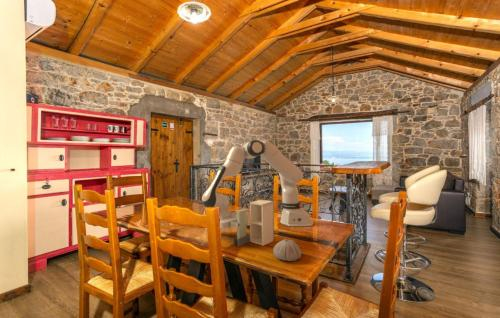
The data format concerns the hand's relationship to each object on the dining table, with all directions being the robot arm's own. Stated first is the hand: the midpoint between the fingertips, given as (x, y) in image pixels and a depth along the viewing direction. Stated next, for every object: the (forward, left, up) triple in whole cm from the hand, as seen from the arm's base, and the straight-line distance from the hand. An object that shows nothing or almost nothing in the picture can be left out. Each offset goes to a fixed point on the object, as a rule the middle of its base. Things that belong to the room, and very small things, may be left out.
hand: (242, 223), depth 137 cm
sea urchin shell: (-24, +14, -11) cm, 30 cm away
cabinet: (-5, -2, -11) cm, 12 cm away
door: (+1, 0, -9) cm, 9 cm away
